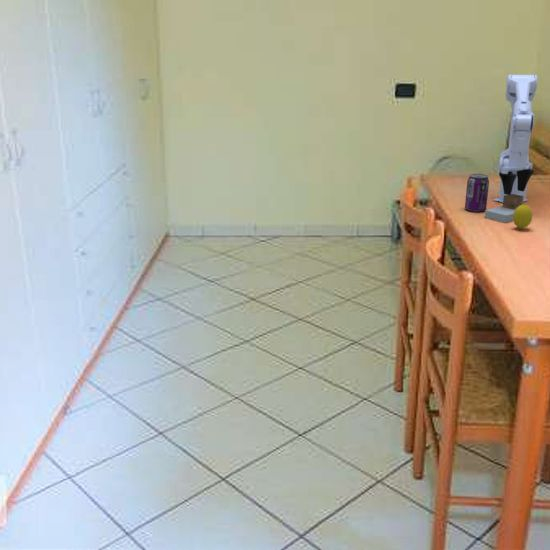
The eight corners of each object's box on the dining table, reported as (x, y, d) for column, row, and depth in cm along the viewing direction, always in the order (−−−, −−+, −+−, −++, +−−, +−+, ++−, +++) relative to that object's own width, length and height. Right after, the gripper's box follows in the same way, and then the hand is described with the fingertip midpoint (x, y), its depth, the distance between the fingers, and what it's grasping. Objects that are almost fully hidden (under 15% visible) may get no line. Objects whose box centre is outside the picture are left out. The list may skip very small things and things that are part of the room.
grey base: (499, 213, 227) (500, 206, 226) (520, 218, 221) (521, 211, 220) (484, 217, 223) (485, 210, 222) (505, 223, 217) (506, 215, 216)
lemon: (530, 227, 212) (533, 202, 209) (530, 232, 207) (533, 207, 204) (511, 225, 214) (514, 201, 211) (511, 230, 209) (514, 205, 206)
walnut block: (509, 210, 231) (511, 193, 229) (521, 213, 228) (523, 196, 225) (501, 212, 228) (503, 195, 226) (513, 215, 225) (515, 198, 223)
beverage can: (486, 213, 228) (490, 178, 224) (465, 212, 229) (468, 177, 225) (485, 207, 234) (488, 173, 230) (464, 206, 236) (467, 172, 232)
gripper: (516, 155, 214) (511, 197, 218) (542, 150, 222) (537, 191, 227) (497, 152, 219) (493, 193, 224) (523, 148, 227) (518, 187, 232)
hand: (514, 192), depth 225 cm, fingers open, 7 cm apart
